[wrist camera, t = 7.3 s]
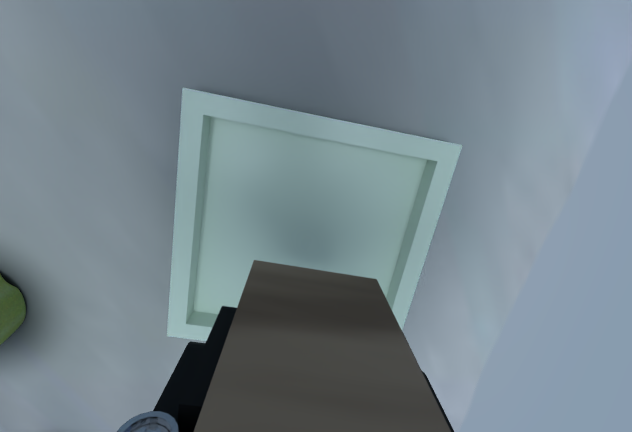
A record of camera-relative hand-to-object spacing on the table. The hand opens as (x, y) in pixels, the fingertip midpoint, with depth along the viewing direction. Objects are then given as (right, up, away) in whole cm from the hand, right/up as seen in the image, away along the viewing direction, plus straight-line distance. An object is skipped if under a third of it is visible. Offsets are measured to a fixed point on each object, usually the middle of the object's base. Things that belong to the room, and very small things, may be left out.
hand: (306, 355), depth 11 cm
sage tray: (-1, +4, +11) cm, 11 cm away
